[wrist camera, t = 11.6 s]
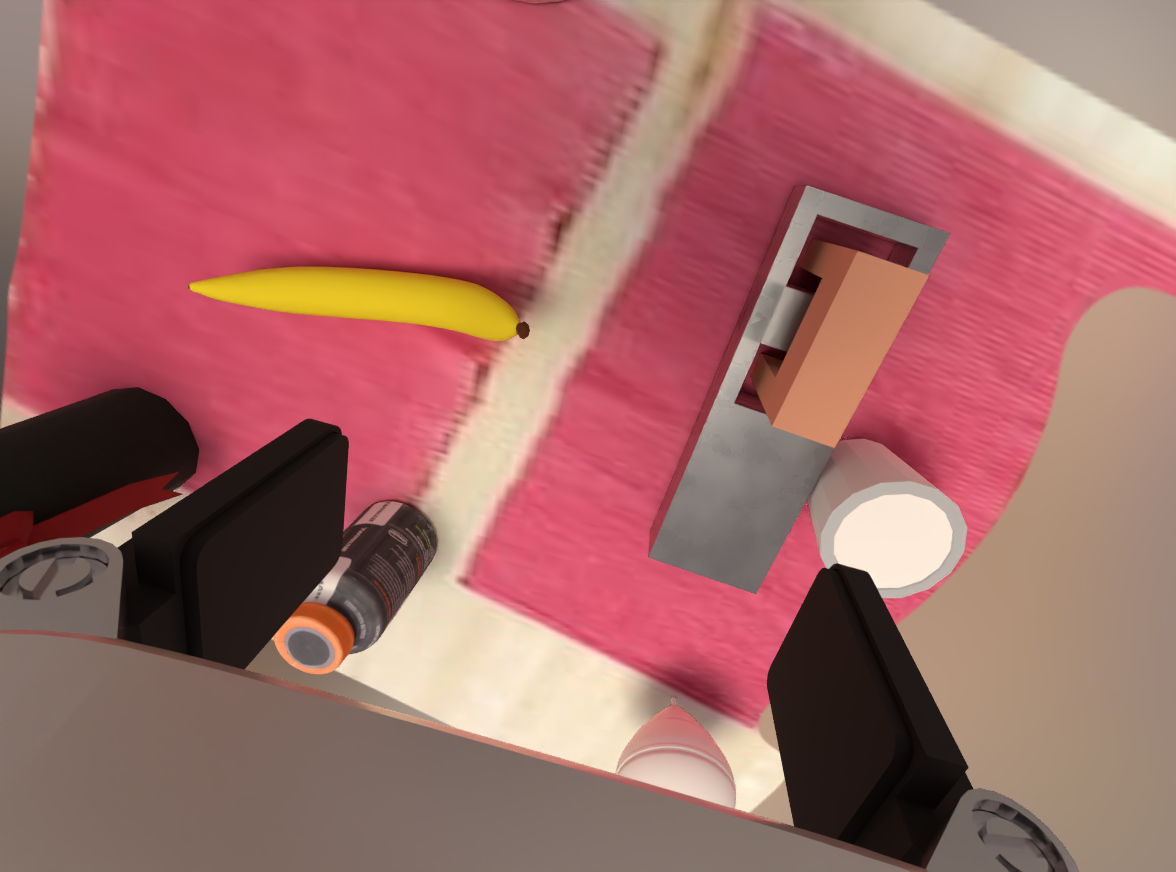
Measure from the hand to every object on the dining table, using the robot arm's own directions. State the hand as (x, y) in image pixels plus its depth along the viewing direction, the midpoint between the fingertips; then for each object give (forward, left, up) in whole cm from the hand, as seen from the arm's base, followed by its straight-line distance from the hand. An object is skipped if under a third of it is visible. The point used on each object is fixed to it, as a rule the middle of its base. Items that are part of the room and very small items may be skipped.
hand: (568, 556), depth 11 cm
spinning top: (+26, +12, -24) cm, 37 cm away
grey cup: (+5, +16, -24) cm, 29 cm away
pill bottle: (+20, -11, -24) cm, 33 cm away
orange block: (-3, +9, -24) cm, 26 cm away
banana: (+3, -14, -24) cm, 28 cm away
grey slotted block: (+2, +9, -24) cm, 26 cm away
